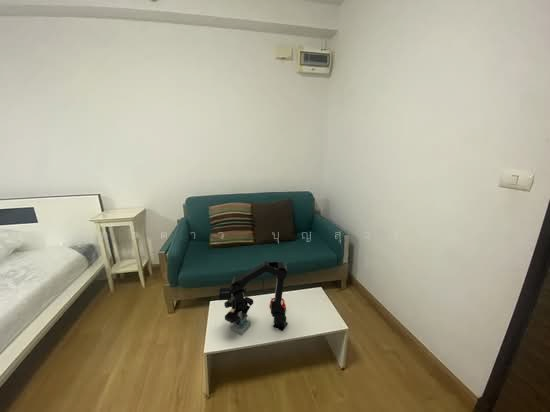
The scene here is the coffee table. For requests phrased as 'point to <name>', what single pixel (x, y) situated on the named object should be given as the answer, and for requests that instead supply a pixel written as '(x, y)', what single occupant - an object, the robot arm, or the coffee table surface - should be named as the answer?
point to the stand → (240, 328)
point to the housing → (242, 319)
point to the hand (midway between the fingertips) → (240, 321)
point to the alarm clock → (281, 303)
